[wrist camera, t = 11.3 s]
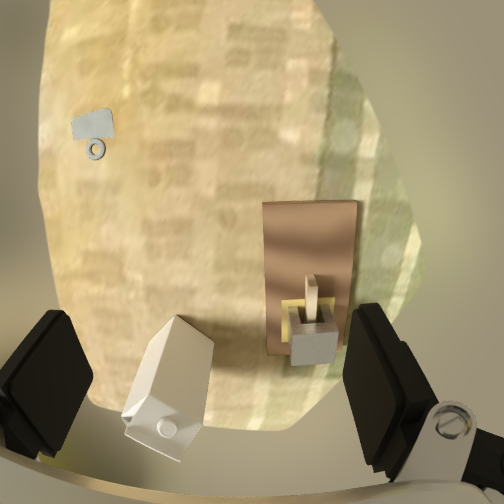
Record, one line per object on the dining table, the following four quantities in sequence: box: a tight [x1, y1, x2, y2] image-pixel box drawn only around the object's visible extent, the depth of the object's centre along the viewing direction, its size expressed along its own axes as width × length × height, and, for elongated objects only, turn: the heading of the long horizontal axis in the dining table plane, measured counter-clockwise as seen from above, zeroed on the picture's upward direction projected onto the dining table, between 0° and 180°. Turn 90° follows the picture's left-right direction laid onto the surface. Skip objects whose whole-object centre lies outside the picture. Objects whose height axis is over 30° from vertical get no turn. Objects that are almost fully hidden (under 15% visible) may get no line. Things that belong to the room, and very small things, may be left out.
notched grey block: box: [287, 304, 339, 366], centre depth 39 cm, size 5×5×6 cm
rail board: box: [262, 200, 357, 356], centre depth 39 cm, size 22×11×4 cm, turn 3°
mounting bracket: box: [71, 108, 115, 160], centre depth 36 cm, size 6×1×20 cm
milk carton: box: [121, 315, 214, 462], centre depth 36 cm, size 7×7×19 cm
